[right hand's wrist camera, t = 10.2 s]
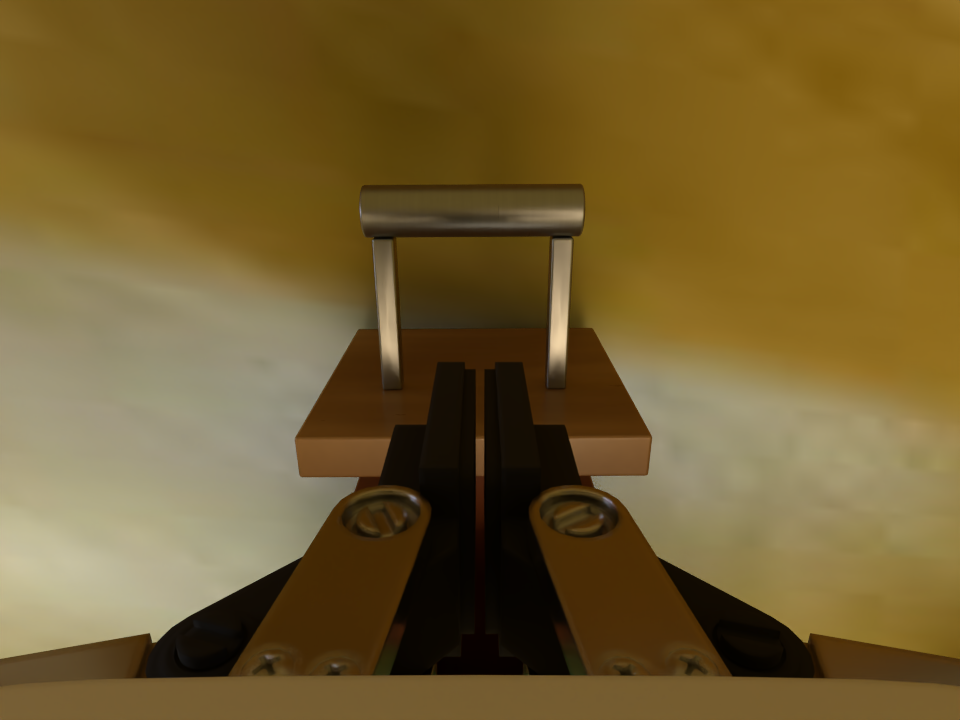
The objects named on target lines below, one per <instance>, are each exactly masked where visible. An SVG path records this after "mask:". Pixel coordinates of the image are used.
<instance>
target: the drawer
mask: <svg viewBox="0 0 960 720" xmlns="http://www.w3.org/2000/svg"><path fill="white" fill-rule="evenodd" d="M359 206H360V221H361V227H362V231H363V234H364V236H365V237H374V238H373V240H372V248H373V262H374V276H375V290H376V305H377V319H378V329H359V330H358V331H357V333H356V335H355V336H354V338H353V340H352V341H351V343H350V345H349V346H348V348H347V350H346V352H345V353H344V355H343V357H342V358H341V360H340V362H339V364H338V365H337V367H336V369H335V370H334V372H333V374H332V376H331V377H330V379H329V381H328V382H327V384H326V386H325V388H324V389H323V391H322V393H321V394H320V396H319V398H318V400H317V401H316V403H315V405H314V406H313V408H312V410H311V412H310V413H309V415H308V417H307V418H306V420H305V422H304V424H303V425H302V427H301V429H300V430H299V432H298V434H297V436H296V437H295V444H296V452H297V460H298V467H299V474H300V477H359V480H358V483H357V486H356V489H355V491H354V492H356V491H359V490H362V489H364V488H368V487H374V486H378V483H379V480H380V476H381V473H382V469H383V465H384V462H385V458H386V455H387V451H388V448H389V444H390V440H391V437H392V433H393V430H394V427H395V425H426V424H427V418H428V413H429V407H430V401H431V396H432V390H433V384H434V379H435V373H436V367H437V362H465V369H476V545H475V634H462V637H461V657H443V658H442V659H441V660H440V661H438V662H437V675H523V662H522V661H520V660H519V659H518V658H517V657H499V637H498V634H485V545H484V369H495V362H523V367H524V373H525V379H526V384H527V390H528V396H529V401H530V407H531V413H532V418H533V424H534V425H565V427H566V430H567V433H568V437H569V440H570V444H571V448H572V451H573V455H574V458H575V462H576V465H577V469H578V473H579V476H580V480H581V483H582V486H586V487H592V488H594V485H593V482H592V479H591V476H631V475H647V474H648V470H649V461H650V452H651V443H652V436H651V434H650V432H649V430H648V428H647V427H646V425H645V423H644V421H643V419H642V417H641V416H640V414H639V412H638V410H637V408H636V406H635V405H634V403H633V401H632V399H631V397H630V396H629V394H628V392H627V390H626V388H625V386H624V385H623V383H622V381H621V379H620V377H619V375H618V374H617V372H616V370H615V368H614V366H613V365H612V363H611V361H610V359H609V357H608V355H607V354H606V352H605V350H604V348H603V346H602V344H601V343H600V341H599V339H598V337H597V335H596V333H595V332H594V330H593V329H592V328H569V322H570V302H571V282H572V262H573V242H574V240H573V238H572V236H580V235H581V233H582V231H583V226H584V219H585V193H584V188H583V185H581V184H477V185H364V186H362V188H361V192H360V204H359ZM530 236H550V247H549V274H548V302H547V328H516V329H401V317H400V299H399V281H398V263H397V245H396V237H530Z"/></svg>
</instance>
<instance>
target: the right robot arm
mask: <svg viewBox="0 0 960 720" xmlns="http://www.w3.org/2000/svg"><path fill="white" fill-rule="evenodd" d="M475 545H476V369H465V362H437V367H436V373H435V379H434V384H433V390H432V396H431V401H430V407H429V413H428V418H427V424H426V425H395V427H394V430H393V433H392V437H391V440H390V444H389V448H388V451H387V455H386V458H385V462H384V465H383V469H382V473H381V476H380V480H379V483H378V486H374V487H368V488H364V489H362V490H359V491H356V492H353V493H351V494H350V495H348V496H347V497H345V498H343V499H342V500H341V501H340V502H339V503H338V504H337V505H336V506H335V507H334V508H333V510H332V512H331V513H330V515H329V516H328V518H327V520H326V521H325V523H324V524H323V526H322V527H321V529H320V531H319V532H318V534H317V535H316V537H315V539H314V540H313V542H312V543H311V545H310V546H309V548H308V550H307V551H306V553H305V554H304V556H303V557H301V558H299V559H298V560H296V561H294V562H292V563H290V564H288V565H286V566H284V567H282V568H280V569H278V570H277V571H275V572H273V573H271V574H269V575H267V576H265V577H263V578H261V579H259V580H258V581H256V582H254V583H252V584H250V585H248V586H246V587H244V588H242V589H240V590H238V591H237V592H235V593H233V594H231V595H229V596H227V597H225V598H223V599H221V600H219V601H217V602H216V603H214V604H212V605H210V606H208V607H206V608H204V609H202V610H200V611H198V612H197V613H195V614H193V615H191V616H189V617H187V618H186V619H184V620H183V621H181V622H180V623H178V624H177V625H175V626H173V627H172V628H171V629H170V630H169V631H168V632H167V633H166V634H165V635H164V636H163V637H162V638H161V639H160V640H159V641H158V642H156V643H152V640H151V636H150V633H148V634H143V635H137V636H131V637H125V638H119V639H114V640H108V641H102V642H96V643H91V644H85V645H79V646H73V647H67V648H62V649H56V650H50V651H44V652H39V653H33V654H27V655H21V656H15V657H10V658H4V659H0V720H960V659H956V658H950V657H945V656H939V655H933V654H927V653H921V652H916V651H910V650H904V649H898V648H893V647H887V646H881V645H875V644H869V643H864V642H858V641H852V640H846V639H841V638H835V637H829V636H823V635H817V634H812V633H810V636H809V640H808V643H804V642H802V641H801V640H800V639H799V638H798V637H797V636H796V635H795V634H794V633H793V632H792V631H791V630H790V629H789V628H788V627H787V626H785V625H783V624H782V623H780V622H779V621H777V620H776V619H774V618H773V617H771V616H769V615H767V614H765V613H763V612H762V611H760V610H758V609H756V608H754V607H752V606H750V605H748V604H746V603H744V602H742V601H741V600H739V599H737V598H735V597H733V596H731V595H729V594H727V593H725V592H723V591H722V590H720V589H718V588H716V587H714V586H712V585H710V584H708V583H706V582H704V581H702V580H701V579H699V578H697V577H695V576H693V575H691V574H689V573H687V572H685V571H683V570H682V569H680V568H678V567H676V566H674V565H672V564H670V563H668V562H666V561H664V560H662V559H661V558H659V557H657V556H656V554H655V553H654V551H653V550H652V548H651V546H650V545H649V543H648V542H647V540H646V539H645V537H644V535H643V534H642V532H641V531H640V529H639V527H638V526H637V524H636V523H635V521H634V520H633V518H632V516H631V515H630V513H629V512H628V510H627V508H626V507H625V506H624V505H623V504H622V503H621V502H620V501H619V500H618V499H617V498H615V497H613V496H612V495H610V494H609V493H607V492H604V491H601V490H598V489H596V488H592V487H586V486H582V483H581V480H580V476H579V473H578V469H577V465H576V462H575V458H574V455H573V451H572V448H571V444H570V440H569V437H568V433H567V430H566V427H565V425H534V424H533V418H532V413H531V407H530V401H529V396H528V390H527V384H526V379H525V373H524V367H523V362H495V369H484V545H485V634H498V637H499V657H517V658H518V659H519V660H520V661H522V662H523V675H437V662H438V661H440V660H441V659H442V658H443V657H461V637H462V634H475Z"/></svg>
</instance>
